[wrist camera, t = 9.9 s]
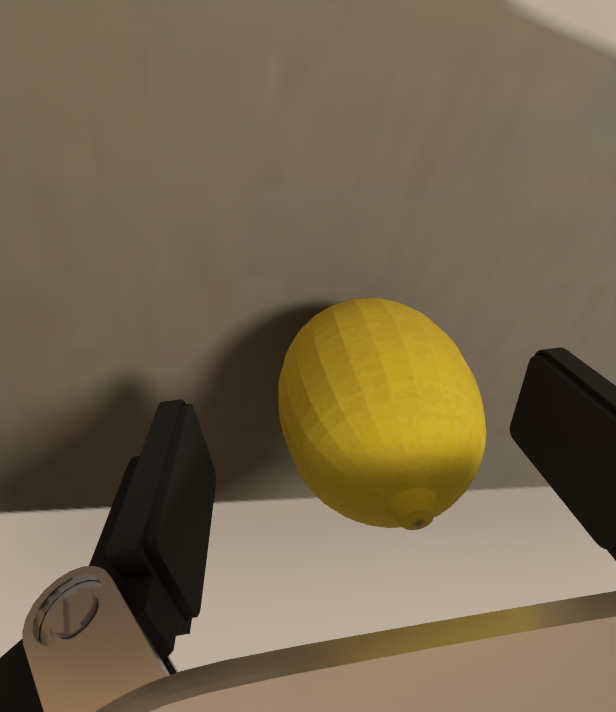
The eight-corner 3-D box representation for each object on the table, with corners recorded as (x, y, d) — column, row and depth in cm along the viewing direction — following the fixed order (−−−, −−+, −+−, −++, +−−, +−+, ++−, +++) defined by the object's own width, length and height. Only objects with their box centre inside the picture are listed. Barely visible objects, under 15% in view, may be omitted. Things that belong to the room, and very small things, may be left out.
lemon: (263, 378, 15) (258, 587, 8) (296, 246, 12) (329, 399, 5) (386, 398, 16) (470, 595, 9) (442, 282, 13) (617, 444, 7)
